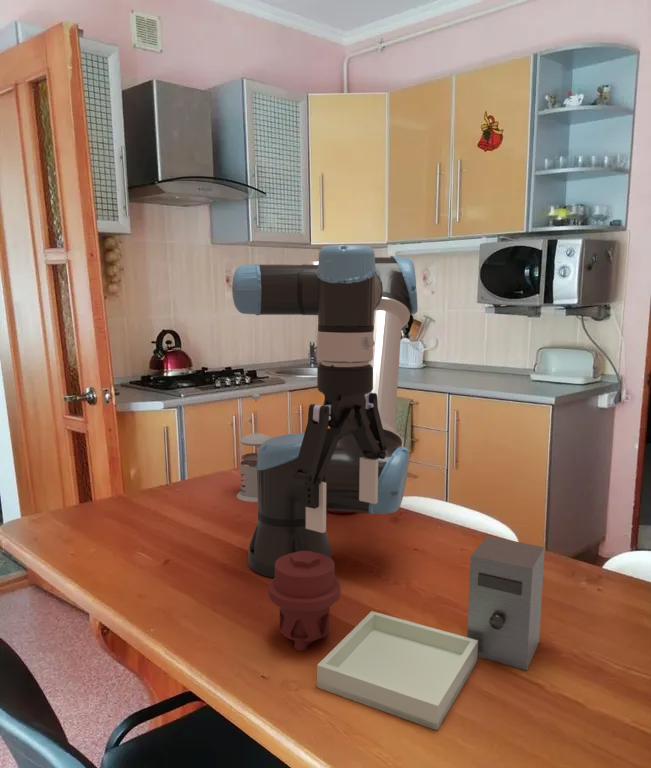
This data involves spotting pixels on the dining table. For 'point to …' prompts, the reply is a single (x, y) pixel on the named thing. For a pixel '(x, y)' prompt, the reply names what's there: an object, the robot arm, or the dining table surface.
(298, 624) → the mechanical component
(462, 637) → the tray
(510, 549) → the unit
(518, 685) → the dining table surface
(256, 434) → the french press
